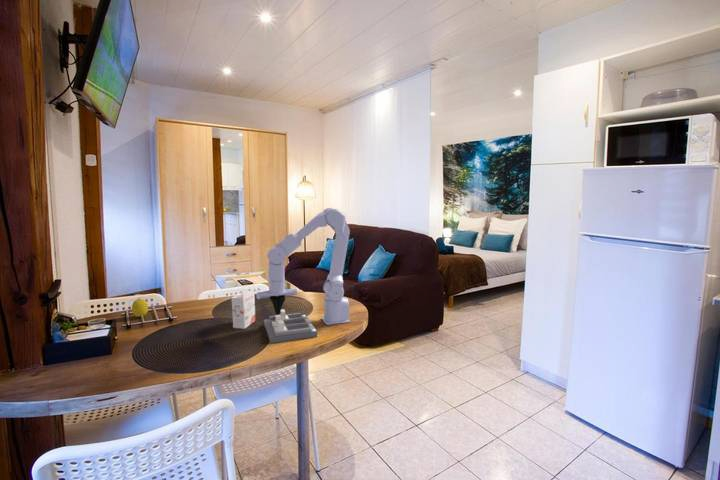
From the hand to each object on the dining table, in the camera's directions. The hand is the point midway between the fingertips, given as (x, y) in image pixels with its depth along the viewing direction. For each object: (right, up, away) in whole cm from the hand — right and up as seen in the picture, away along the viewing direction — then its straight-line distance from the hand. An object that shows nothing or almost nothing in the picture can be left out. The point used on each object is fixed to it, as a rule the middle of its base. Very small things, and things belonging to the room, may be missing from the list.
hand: (277, 315), depth 132 cm
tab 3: (+3, -4, -10) cm, 11 cm away
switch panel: (+5, -5, -3) cm, 8 cm away
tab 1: (+2, -2, +1) cm, 3 cm away
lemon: (-57, -3, +9) cm, 57 cm away
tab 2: (+1, -3, -5) cm, 6 cm away
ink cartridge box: (-13, -4, +2) cm, 14 cm away
